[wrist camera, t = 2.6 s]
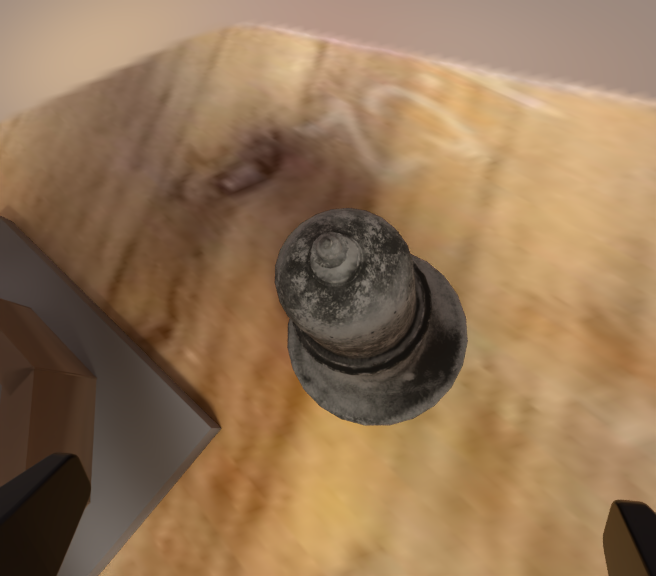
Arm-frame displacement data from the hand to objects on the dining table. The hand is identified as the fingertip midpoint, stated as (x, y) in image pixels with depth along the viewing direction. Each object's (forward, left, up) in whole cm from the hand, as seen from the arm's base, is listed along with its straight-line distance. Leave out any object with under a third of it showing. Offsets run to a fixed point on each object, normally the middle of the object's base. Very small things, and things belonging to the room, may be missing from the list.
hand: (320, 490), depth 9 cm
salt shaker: (+3, +2, -11) cm, 12 cm away
